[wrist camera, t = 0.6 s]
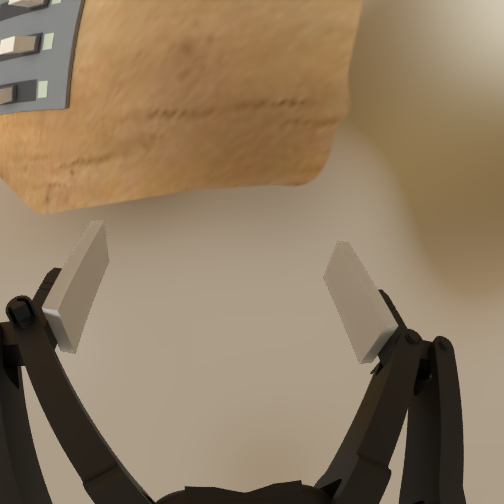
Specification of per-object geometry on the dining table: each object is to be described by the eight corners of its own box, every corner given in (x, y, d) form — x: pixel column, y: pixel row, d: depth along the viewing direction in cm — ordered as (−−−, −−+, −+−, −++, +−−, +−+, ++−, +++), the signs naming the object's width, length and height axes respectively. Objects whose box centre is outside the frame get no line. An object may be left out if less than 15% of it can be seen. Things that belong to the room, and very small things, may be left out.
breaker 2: (24, 38, 21) (0, 38, 17) (40, 34, 22) (16, 34, 17) (22, 54, 23) (-3, 56, 18) (37, 51, 23) (13, 52, 19)
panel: (-15, 5, 15) (-20, 5, 14) (92, -25, 20) (88, -28, 18) (-27, 117, 26) (-32, 119, 25) (68, 107, 30) (64, 108, 29)
